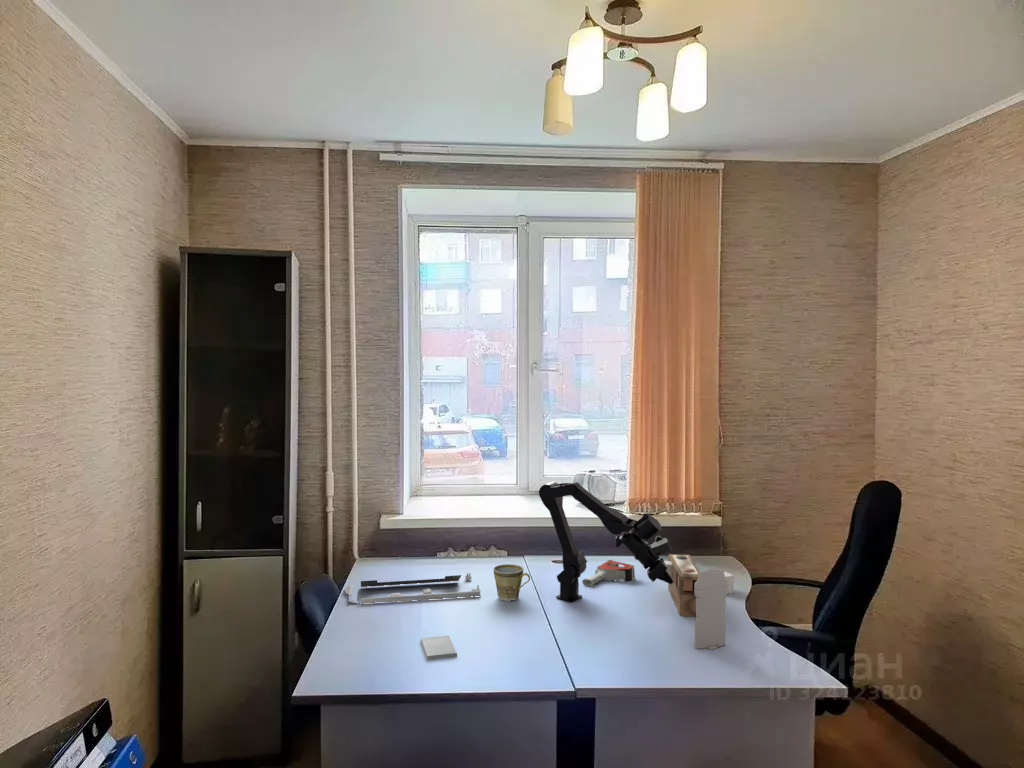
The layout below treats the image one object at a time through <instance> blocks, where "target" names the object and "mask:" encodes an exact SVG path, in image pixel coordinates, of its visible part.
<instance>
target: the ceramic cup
mask: <svg viewBox="0 0 1024 768" xmlns="http://www.w3.org/2000/svg"><path fill="white" fill-rule="evenodd" d="M493 576H494V581H495V586H496V592H497V593H496V594H497V597H499V598H498V599H499V600H500V599H501V600H500V601H502V600H505V601H504V602H507V601H508V602H512V601H511V600H515V601H517V600H519V597H520V591H521V588H523V587H524V586H525V585H526V584H527V583H529V582H530V580H531V576H530V574H529V573H526V572H524V567H523V566H521V565H519V564H514V563H513V564H512V563H505V564H499V565H496V566H494V567H493ZM524 576H526V577H528V580H527V581H525V582H524V583H523V584H522V580H523V577H524ZM516 599H517V600H516Z"/></svg>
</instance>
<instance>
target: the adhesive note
mask: <svg viewBox="0 0 1024 768" xmlns="http://www.w3.org/2000/svg"><path fill="white" fill-rule="evenodd" d="M724 575H725V579H727V580H728V592H727V594H733V593H734V587H735V586H734V583H735V582H734V579H735V578H734V577H735V576H734V575H733V574H732V573H729V572H726V571H724Z"/></svg>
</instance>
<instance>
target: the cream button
mask: <svg viewBox="0 0 1024 768" xmlns="http://www.w3.org/2000/svg"><path fill="white" fill-rule="evenodd" d="M664 562H665V564H666V566H667V570H666V571H667V572H668V574H669V575H670V576H672V562H671V561H669V560H664Z"/></svg>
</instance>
